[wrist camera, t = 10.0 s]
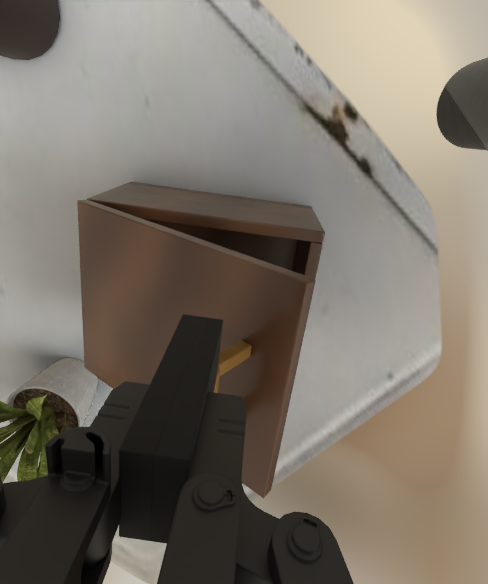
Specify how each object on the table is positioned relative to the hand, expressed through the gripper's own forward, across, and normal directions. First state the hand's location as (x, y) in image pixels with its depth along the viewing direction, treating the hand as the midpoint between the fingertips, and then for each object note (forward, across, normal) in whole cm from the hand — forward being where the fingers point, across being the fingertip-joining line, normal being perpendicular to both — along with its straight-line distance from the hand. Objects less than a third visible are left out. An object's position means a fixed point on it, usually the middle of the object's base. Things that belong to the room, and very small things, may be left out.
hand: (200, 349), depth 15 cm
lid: (+8, -3, -4) cm, 9 cm away
